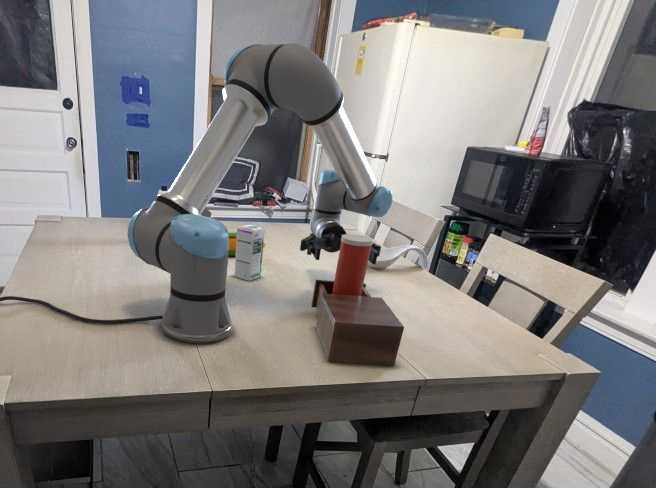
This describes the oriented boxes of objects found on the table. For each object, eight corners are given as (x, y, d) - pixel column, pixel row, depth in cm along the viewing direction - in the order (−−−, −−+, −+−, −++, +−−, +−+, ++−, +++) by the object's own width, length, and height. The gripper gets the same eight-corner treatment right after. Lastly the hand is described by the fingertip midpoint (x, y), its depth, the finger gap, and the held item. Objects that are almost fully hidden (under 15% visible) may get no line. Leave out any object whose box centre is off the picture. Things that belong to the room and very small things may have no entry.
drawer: (308, 299, 126) (312, 274, 123) (355, 302, 127) (361, 277, 124) (320, 330, 109) (325, 301, 106) (374, 333, 110) (381, 305, 106)
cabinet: (315, 328, 112) (321, 293, 108) (373, 332, 112) (381, 297, 108) (327, 361, 98) (335, 322, 93) (394, 366, 98) (404, 326, 94)
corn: (206, 228, 160) (263, 229, 165) (204, 251, 164) (260, 250, 169) (211, 235, 154) (270, 235, 159) (209, 258, 158) (267, 258, 163)
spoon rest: (367, 271, 157) (372, 249, 153) (352, 261, 167) (356, 240, 163) (432, 272, 162) (438, 250, 158) (413, 262, 172) (419, 241, 168)
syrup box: (249, 281, 139) (254, 230, 132) (233, 276, 142) (237, 225, 135) (260, 277, 143) (265, 227, 136) (244, 272, 146) (248, 223, 139)
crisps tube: (333, 320, 112) (348, 241, 103) (323, 309, 118) (337, 233, 109) (361, 320, 113) (378, 242, 104) (350, 309, 119) (365, 234, 110)
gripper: (372, 252, 136) (394, 275, 117) (284, 246, 135) (292, 268, 116) (378, 225, 132) (402, 244, 113) (287, 218, 131) (296, 236, 113)
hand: (346, 256), depth 115 cm, fingers open, 13 cm apart
